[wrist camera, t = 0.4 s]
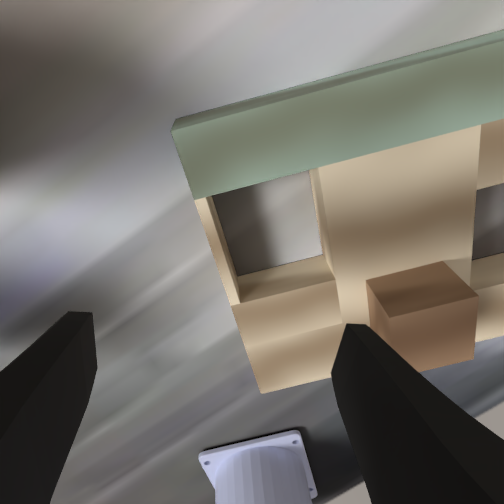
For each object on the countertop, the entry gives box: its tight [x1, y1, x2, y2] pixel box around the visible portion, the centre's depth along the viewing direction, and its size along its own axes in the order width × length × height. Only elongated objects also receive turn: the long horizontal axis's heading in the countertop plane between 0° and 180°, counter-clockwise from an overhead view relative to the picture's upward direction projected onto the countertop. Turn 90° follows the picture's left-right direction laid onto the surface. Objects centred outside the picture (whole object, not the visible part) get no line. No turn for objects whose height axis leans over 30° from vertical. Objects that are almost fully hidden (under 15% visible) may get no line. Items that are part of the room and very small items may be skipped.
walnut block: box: [366, 261, 479, 372], centre depth 19 cm, size 4×4×3 cm
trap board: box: [171, 30, 504, 394], centre depth 19 cm, size 16×18×2 cm
